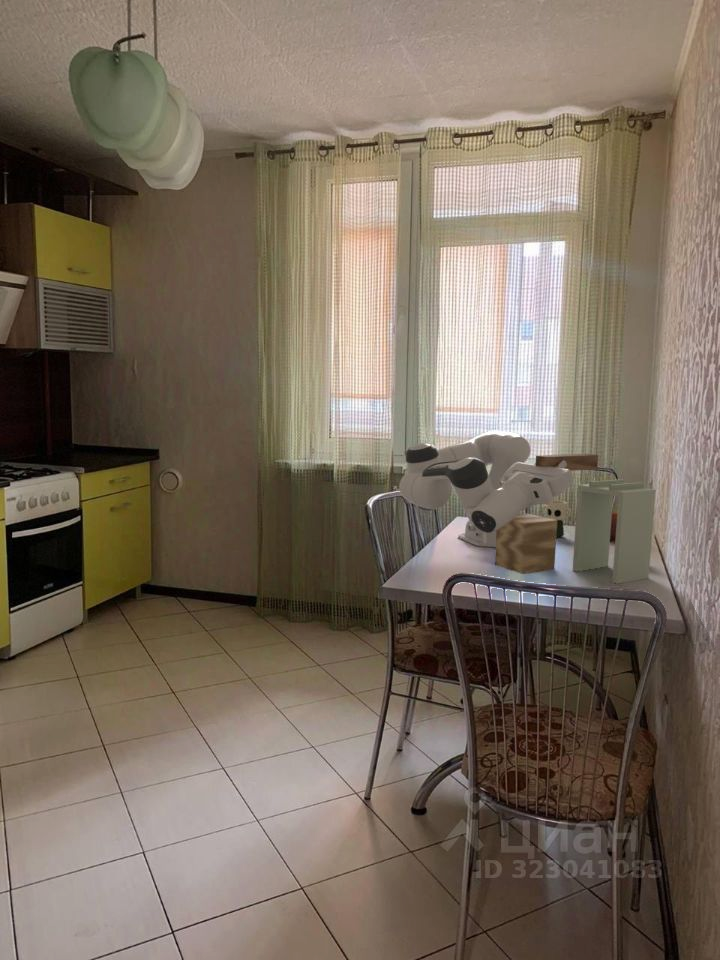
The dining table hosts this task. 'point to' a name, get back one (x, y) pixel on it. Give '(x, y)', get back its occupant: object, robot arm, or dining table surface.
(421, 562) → the dining table surface
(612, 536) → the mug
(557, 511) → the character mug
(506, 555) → the oak step
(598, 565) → the bridge
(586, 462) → the walnut bar
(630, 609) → the dining table surface
